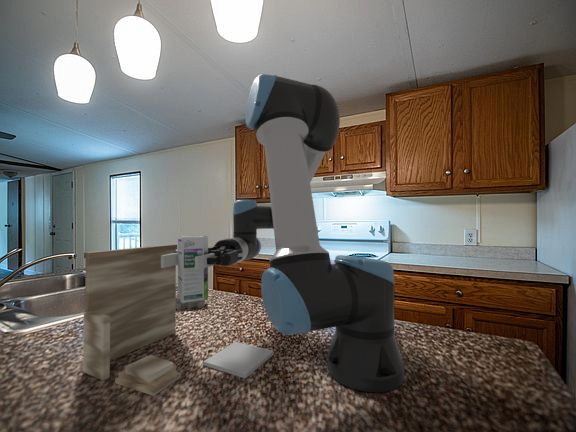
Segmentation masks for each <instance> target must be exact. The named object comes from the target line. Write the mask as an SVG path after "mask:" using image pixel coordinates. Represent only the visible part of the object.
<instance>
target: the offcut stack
mask: <svg viewBox="0 0 576 432" xmlns="http://www.w3.org/2000/svg"><path fill="white" fill-rule="evenodd" d="M180 378H182V373H181V372H178V371H177V364H175V363H174V362H173V361H171V360H170V361H169V360H166V359H164V358H161V357H159V356H156V355H154V354H149V355H147V356H145V357H141V358H140V359H138V360H136V361H133V362H131V363H129V364H127V365H125V369H123V370H121V371H120V372H118V377H116V378H115V379H114V380H115V383H114V384H116V385H119V386H122V387H126V388H128V389H131V390H135V391H138V392H141V393H144V394H147V395H150V396H153V397H155V396H156V395H158V394H159V393H160V392H162V391H164V389H166V388H168V387H170V385H172V384H173V383H174V382H176V381H177V380H179V379H180Z"/></svg>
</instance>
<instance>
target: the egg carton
mask: <svg viewBox="0 0 576 432" xmlns="http://www.w3.org/2000/svg"><path fill="white" fill-rule="evenodd" d="M205 301H206V300H202V301H194V302H187V303H181V301H180V300H179V298H178V297H176V310H178V311H179V310H183V309H189V310H190V309H194V308H198V309H201V308H205V306H206V305H205V303H206V302H205Z"/></svg>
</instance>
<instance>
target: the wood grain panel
mask: <svg viewBox="0 0 576 432" xmlns="http://www.w3.org/2000/svg"><path fill="white" fill-rule="evenodd" d="M177 250H178V244H175V243H174V244H164V245H163V244H161V245H152V246H142V247H141V246H140V247H130V248H119V249H118V248H117V249H108V250H99V251H98V250H96V251H87V252H85V251H84V252H83V259H85V282H84V283H85V284H84V285H85V286H84V287H85V289H84V290H85V291H84V292H85V293H84V294H85V295H84V296H85V298H84V300H85V301H84V302H85V303H84V312H83V342H82V343H83V352H82V353H83V359H82V360H83V361H82V363H83V364H82V365H83V366H82V367H83V368H82V371H83V373H85V374H87V375H89V376H92V377H94V378H95V379H99V380H100V381H105V380H107V379H109V378H110V372H111V370H110V365H111V364H110V363H111V361H114V360H116V359H117V358H118V359H119V358H122V357H123V356H125V355H127V354H130V353H132V352H134V351H136V350H139V349H142V348H144V347H146V346H148V345H151V344H153V343H155V342H157V341H159V340H163V339H164V338H166V337H169V336H171V335H173V334H176V328H177V327H176V320H177V319H176V316H177V315H176V314H177V313H176V311H177V309H176V298H177V297H176V291H177V290H176V289H177V288H176V284H177V283H176V282H177V279H176V278H177V277H176V276H177V275H176V274H177V265H175V266H170V267H166V268H161V255H167V254H173V252H175V251H177Z"/></svg>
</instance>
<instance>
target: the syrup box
mask: <svg viewBox="0 0 576 432" xmlns="http://www.w3.org/2000/svg"><path fill="white" fill-rule="evenodd" d="M208 248H209V237H208V236H207V235H202V234H201V235H179V236H178V237H177V251H178V265H177V298H179V300H180V301H181V303H187V302H194V301H202V300H205V301H208V299H209V267H206V268H203V269H199V270H195V257H196V256H201V255H206V254H208Z"/></svg>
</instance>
